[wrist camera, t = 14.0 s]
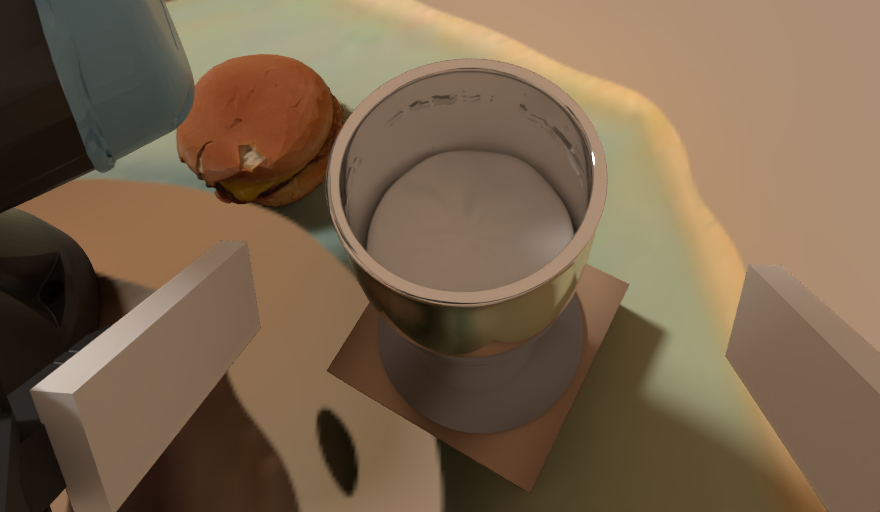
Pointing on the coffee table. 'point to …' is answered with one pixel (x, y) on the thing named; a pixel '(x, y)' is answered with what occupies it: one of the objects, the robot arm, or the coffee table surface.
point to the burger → (260, 130)
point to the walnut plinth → (496, 409)
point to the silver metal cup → (468, 211)
